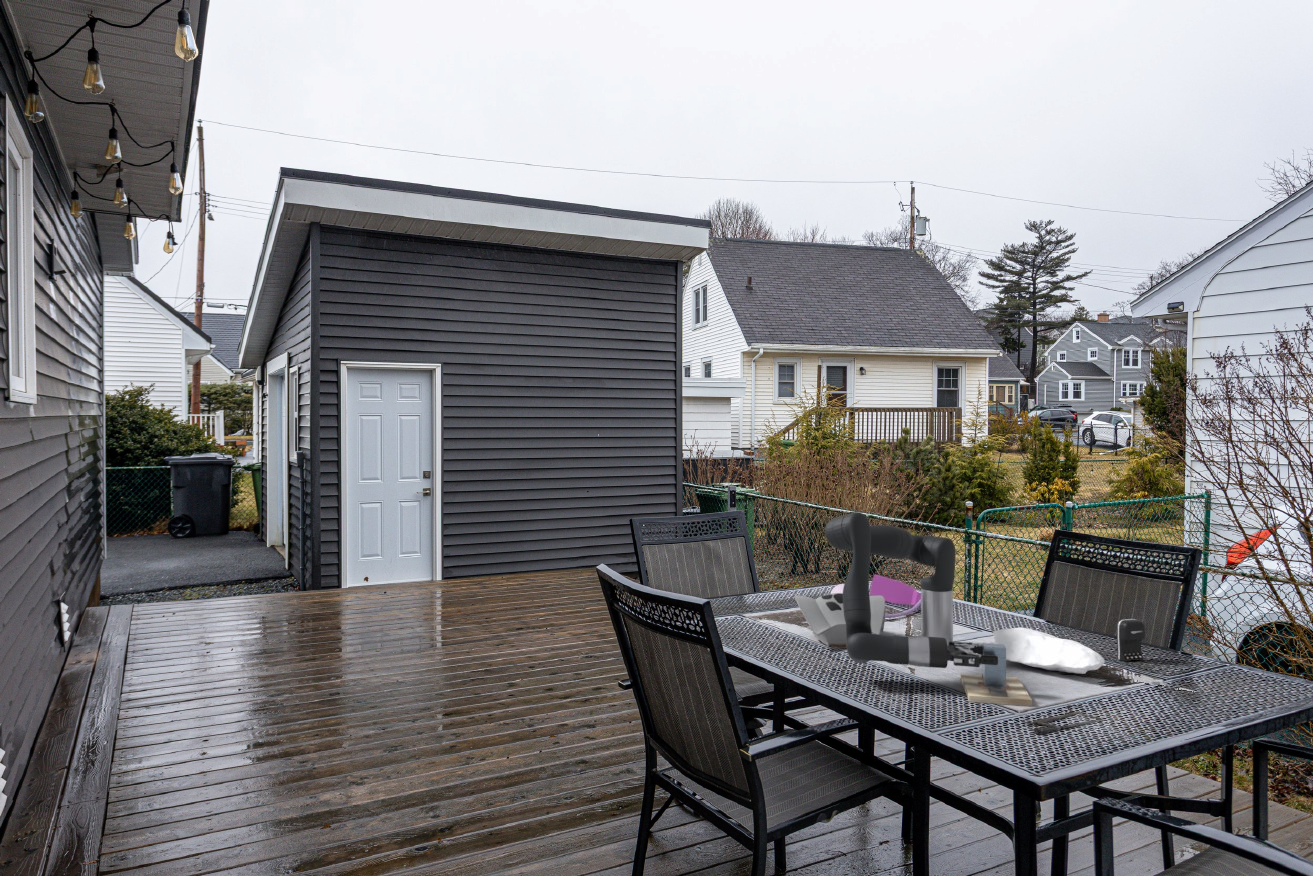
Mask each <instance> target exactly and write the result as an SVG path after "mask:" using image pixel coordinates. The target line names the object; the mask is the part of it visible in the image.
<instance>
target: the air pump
mask: <svg viewBox="0 0 1313 876" xmlns="http://www.w3.org/2000/svg"><path fill="white" fill-rule="evenodd" d="M844 584H845V583H841V584H840V583H839V584H837V585H836V586H834V587H833V588H832V590H831V591H830V593H829V594H832V593H843V588H844ZM879 595H881V596H883V597H884V600H885V602H888V603H891V604H897V605H898V604H900V605H910V606H913V607H911V608H909V609H908V610H906V611H902V612H899V613H891V614H890V613H889V614H888V613H887V614H886V613H885V619H891V618H901V617H903V616H906V615H909V614H911V613H913V612H915V611H916V610H917V609H918V608H919V607H921V592H918V591H917V590H916V589H915V588H914V587H913V586H910V585H908V584H906V583H904V582H901V581H899V580H896V579H892V578H889V577H885V576H882V575H878V574H874V575H873V577H872V581H871V585H870V588H869V596H879Z"/></svg>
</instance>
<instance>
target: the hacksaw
mask: <svg viewBox="0 0 1313 876" xmlns="http://www.w3.org/2000/svg"><path fill="white" fill-rule="evenodd" d="M1069 707H1071V705H1066V706H1065V708H1066V709H1067V710H1068V711H1069V712H1065V713H1064V714H1061V715H1058V716H1052V717H1051V716H1050V717H1046V718H1041V719H1036V720H1032V722H1028V721H1027V719H1022V720H1021V722H1022V723H1025V724H1028V725H1038V726H1044V727H1034V728H1033V733H1035V734H1037V735H1039V736H1042V735H1044V734H1047V733H1052V732H1053V733H1054V732H1057V731H1061V729H1069V728H1072V727H1078V726H1083V725H1088V724H1093V723H1098V722H1100V721H1101V722H1104V721H1106V720H1104V719H1103V718H1101V717H1097V716H1094V715H1088V714H1084V713H1083V712H1084V711H1085V709H1084V708H1083V707H1082V706H1078V705H1073V707H1076V708H1080V709H1082V710H1081V711H1078V710H1076V711H1074V712H1073V710H1072V709H1071V708H1069ZM1076 715H1080V716H1082V717H1083V716H1084V717H1088V718H1092V719H1096V720H1092V719H1091V720H1086V721H1082V722H1077V723H1076V722H1075V723H1071V724H1066V725H1065V724H1064V725H1060V726H1059V725H1054V724H1050V723H1049V722H1052V721H1053V722H1054V721H1058V720H1062V719H1065V718H1069V717H1072V716H1076ZM1026 721H1027V722H1026Z"/></svg>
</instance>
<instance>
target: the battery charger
mask: <svg viewBox="0 0 1313 876" xmlns="http://www.w3.org/2000/svg"><path fill="white" fill-rule="evenodd" d="M1145 625H1146V624H1145V623H1144V622H1143V621H1141V620H1138V619H1135V618H1127V619H1120V620H1118V622H1117V624H1116V645H1117V648H1116V649H1117V657H1116V658H1117V659H1118V660H1121V661H1123V662H1132V661H1131V660H1140V661H1143V660H1144V656H1143V653H1142V642H1143V640H1146V626H1145ZM1142 659H1143V660H1142Z"/></svg>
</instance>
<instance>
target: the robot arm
mask: <svg viewBox="0 0 1313 876" xmlns="http://www.w3.org/2000/svg"><path fill="white" fill-rule="evenodd" d="M824 535H825V539H826V540H827V542H828V543H829V544H830V546H832V548H835V549H837V550H840V551H852V559H851V560H852V561H851V564H850V569H849V571H848V573H847V577H846V579H845V582H844V583H843V584H844V588H843V609H844V618H845V622H846V639H847V644H846V646H845V647H846V653H847V655H848V657H849V659H851V660H852V661H853V662H855V663H858V664H865V663H868V662H869V661H873V662H885V663H888V664H892V665H906V666H914V667H922V668H933V669H934V668H938V669H939V668H940V669H947V667H948V662H949V661H950V662H953V666H956V667H960V666H961V667H969V668H973V667H975V668H980V666H983V664H986V665H997V664H998V657H997V656H996V655H983V645H977V644H974V643H973V642H970V641H969V642H968V641H967V642H965V641H964V642H963V641H962V642H961V641H954V606H953V605H954V599H953V598H954V597H953V596H954V595H953V593H954V592H953V590H954V587H953V586H954V582H955V574H956V546H955V543H954V541H953V540H952V539H951V538H949V537H943V536H936V535H935V536H933V535H916V534H911V533H910V532H909V531H908V530H906V529H904V528H902V527H898V526H894V525H888V524H875V525H871V524H870V521H869V519H868V518H867V516H866V515H865V514H864V513H862V512H858V511H854V512H851V513H846V514H843V515H840V516H836V517H833V518H832V519H830V520H829V521H828V522H827V524H826V525H825V527H824ZM871 555H876V556H881V557H883V558H884V557H885V558H889V559H893V560H904V559H907V560H910V561H913V562H915V563H918V564H920V565H923V566H926V567H935V569H934V574H933V575H930V576H928V577H924V578H922V579H921V580H920V593H921V606H920V612H921V614H920V616H921V617H920V620H921V621H920V625H921V627H920V631H921V632H920V633H921V634H920V635H921V636H920V635H919V636H917V635H916V636H915V635H914V636H902V635H901V636H900V635H898V636H897V635H884V634H883V635H878V634H872V630H871V608H870V598H869V596H870V588H869V587H870V585H869V582H870V581H869V580H870V579H869V578H870V565H871Z"/></svg>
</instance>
